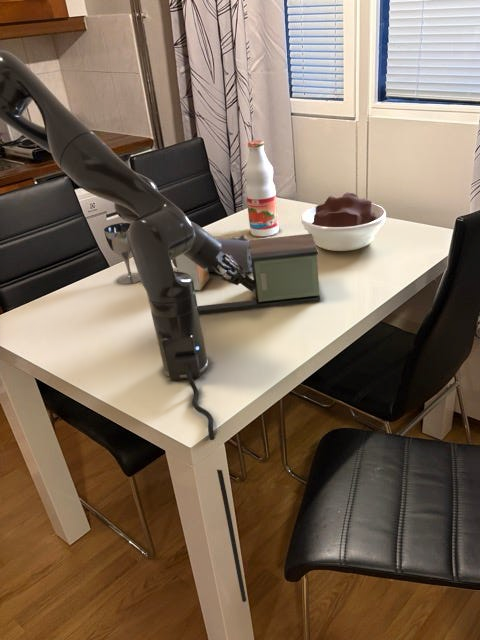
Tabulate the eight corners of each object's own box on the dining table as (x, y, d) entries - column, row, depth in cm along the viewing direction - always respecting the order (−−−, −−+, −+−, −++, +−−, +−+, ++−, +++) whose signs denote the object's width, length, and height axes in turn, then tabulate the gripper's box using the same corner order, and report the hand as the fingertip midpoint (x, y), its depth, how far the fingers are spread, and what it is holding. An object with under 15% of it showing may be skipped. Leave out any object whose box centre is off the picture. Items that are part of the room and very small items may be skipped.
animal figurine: (260, 239, 177) (250, 249, 175) (264, 250, 181) (254, 260, 179) (231, 229, 183) (221, 239, 181) (235, 240, 187) (225, 250, 185)
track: (320, 301, 147) (318, 251, 140) (192, 315, 146) (183, 265, 139) (319, 296, 149) (316, 247, 142) (193, 310, 148) (184, 261, 141)
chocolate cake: (294, 260, 171) (290, 208, 163) (311, 230, 191) (309, 183, 183) (381, 261, 165) (381, 207, 157) (389, 230, 185) (390, 181, 177)
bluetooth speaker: (256, 233, 165) (244, 246, 157) (260, 265, 170) (248, 279, 162) (183, 231, 171) (167, 244, 163) (188, 262, 176) (173, 275, 168)
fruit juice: (284, 228, 195) (276, 138, 179) (270, 238, 188) (261, 145, 172) (259, 226, 199) (250, 138, 183) (245, 235, 192) (234, 145, 176)
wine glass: (111, 282, 167) (97, 231, 159) (129, 271, 173) (117, 221, 165) (132, 286, 164) (120, 233, 156) (150, 275, 170) (139, 224, 162)
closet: (319, 296, 149) (316, 247, 142) (256, 303, 149) (250, 254, 142) (314, 280, 158) (311, 233, 150) (254, 287, 157) (249, 240, 150)
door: (318, 296, 146) (316, 255, 140) (258, 302, 146) (254, 262, 140) (317, 292, 148) (315, 252, 142) (258, 299, 148) (253, 259, 142)
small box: (200, 291, 158) (194, 253, 152) (181, 290, 159) (173, 253, 153) (210, 278, 164) (204, 242, 158) (191, 278, 165) (184, 242, 160)
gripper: (189, 246, 145) (244, 287, 152) (186, 267, 134) (246, 310, 141) (207, 223, 142) (262, 266, 149) (206, 242, 131) (266, 287, 138)
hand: (254, 287), depth 145 cm, fingers closed
